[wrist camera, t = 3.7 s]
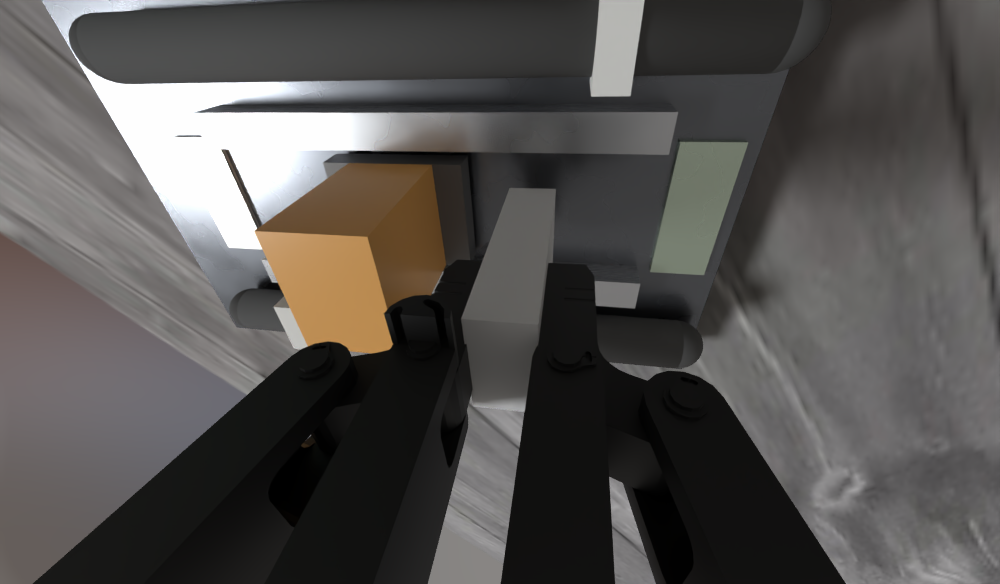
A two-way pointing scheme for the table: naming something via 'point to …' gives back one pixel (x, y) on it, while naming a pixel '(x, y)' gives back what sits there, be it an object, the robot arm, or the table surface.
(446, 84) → the panel
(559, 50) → the pair of grey rails
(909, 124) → the table surface
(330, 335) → the orange rectangular block
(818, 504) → the table surface
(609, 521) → the robot arm
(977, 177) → the table surface
